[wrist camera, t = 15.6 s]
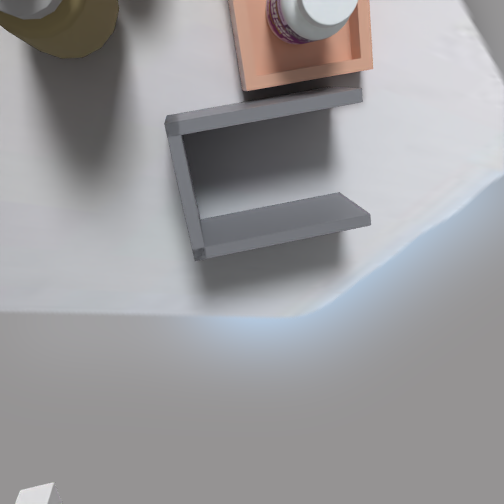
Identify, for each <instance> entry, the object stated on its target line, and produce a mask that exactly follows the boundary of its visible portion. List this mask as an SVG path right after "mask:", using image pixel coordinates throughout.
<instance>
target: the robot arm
mask: <svg viewBox="0 0 504 504" xmlns="http://www.w3.org/2000/svg"><path fill="white" fill-rule="evenodd" d="M15 504H63V502H62V500H61V498H60V495H59V493H58V491H57V488H56V486H55V484H54V483H49V484H45V485H41V486H36V487H32V488H28V489H24V490H20V493H19V495H18V498H17V500H16V503H15Z"/></svg>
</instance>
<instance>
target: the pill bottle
mask: <svg viewBox="0 0 504 504" xmlns="http://www.w3.org/2000/svg"><path fill="white" fill-rule="evenodd" d="M357 2H358V0H267V1H266V17H267V21H268V24H269V26H270V28H271V30H272V32H273V33H274V34H275V35H276V36H277V37H278V38H279V39H281V40H282V41H284V42H286V43H289V44H305V43H309V42H314V41H318V40H322V39H326V38H328V37H331V36H332V35H334V34H335V33H337V32H338V31H339V30H340V29H341V28H342V27H343V26H344V25H345V24H346V22H347V21H348V19H349V17H350V15H351V14H352V12H353V11H354V9H355V7H356V5H357Z"/></svg>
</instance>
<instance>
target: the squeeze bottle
mask: <svg viewBox="0 0 504 504" xmlns="http://www.w3.org/2000/svg"><path fill="white" fill-rule="evenodd" d="M118 11H119V5H118V0H0V25H1V26H2V27H3V28H4V29H6V30H7V31H8V32H10V33H12V34H13V35H15V36H16V37H18V38H20V39H21V40H23V41H25V42H26V43H28V44H29V45H31V46H33V47H34V48H36V49H38V50H39V51H41V52H44V53H47V54H50V55H53V56H56V57H59V58H61V59H64V58H82V57H85V56H87V55H89V54H91V53H93V52H94V51H96V50H98V49H100V48H102V46H103V45H104V44H105V42H106V41H107V40H108V38H109V37H110V36H111V34H112V33H113V31H114V29H115V24H116V20H117V15H118Z"/></svg>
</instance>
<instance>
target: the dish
mask: <svg viewBox="0 0 504 504" xmlns="http://www.w3.org/2000/svg"><path fill="white" fill-rule="evenodd" d="M266 1H267V0H228V4H229V10H230V16H231V23H232V29H233V35H234V42H235V48H236V54H237V61H238V67H239V73H240V80H241V86H242V90H243V91H250V90H256V89H262V88H267V87H273V86H279V85H284V84H290V83H296V82H301V81H307V80H313V79H319V78H324V77H330V76H336V75H341V74H347V73H353V72H358V71H364V70H370V69H373V57H372V40H371V23H370V5H369V0H358V2H357V5H356V7H355V9H354V11H353V12H352V14H351V15H350V17H349V19H348V21H347V22H346V24H345V25H344V26H343V27H342V28H341V29H340V30H339V31H338V32H337V33H335V34H334V35H332V36H331V37H328V38H326V39H322V40H318V41H314V42H309V43H305V44H289V43H286V42H284V41H282V40H281V39H279V38H278V37H277V36H276V35H275V34H274V33H273V32H272V30H271V28H270V26H269V24H268V21H267V17H266Z"/></svg>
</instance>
